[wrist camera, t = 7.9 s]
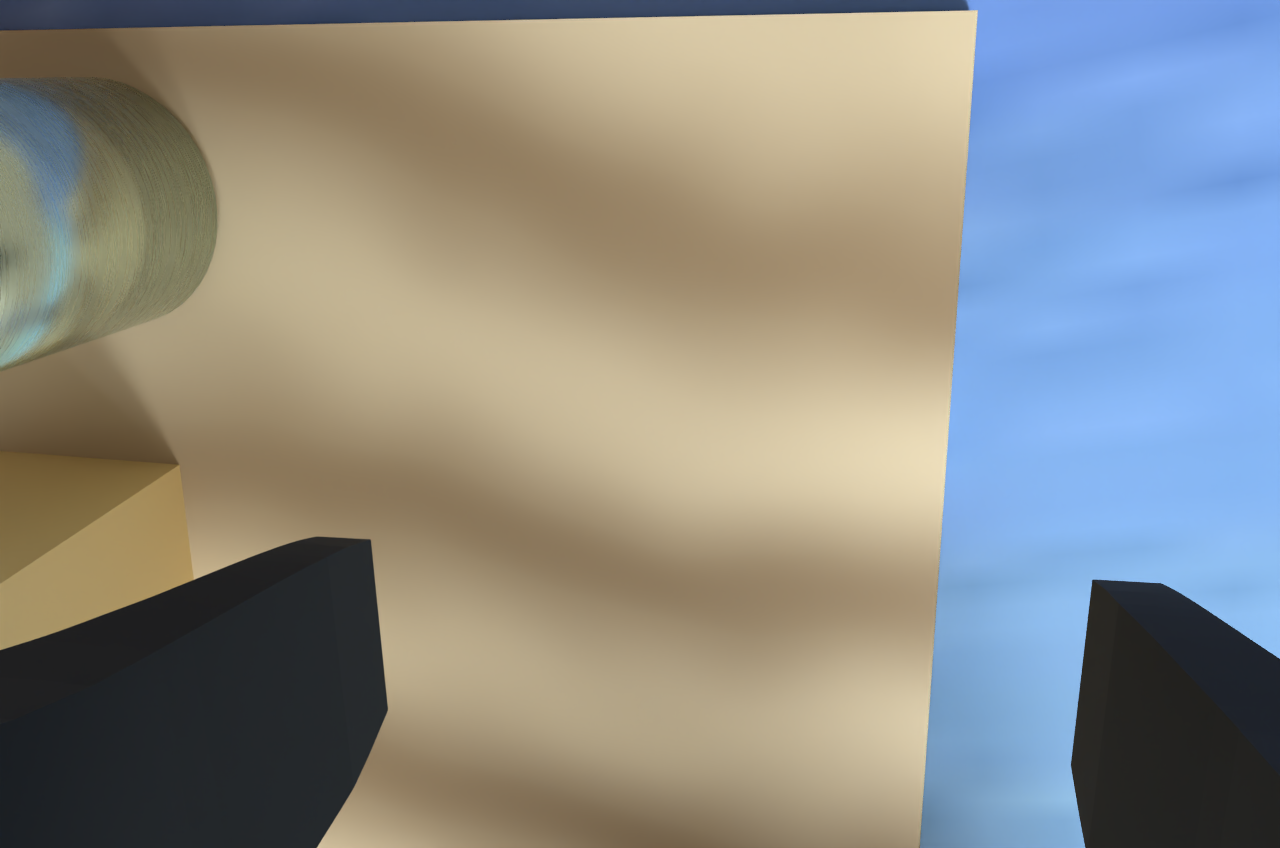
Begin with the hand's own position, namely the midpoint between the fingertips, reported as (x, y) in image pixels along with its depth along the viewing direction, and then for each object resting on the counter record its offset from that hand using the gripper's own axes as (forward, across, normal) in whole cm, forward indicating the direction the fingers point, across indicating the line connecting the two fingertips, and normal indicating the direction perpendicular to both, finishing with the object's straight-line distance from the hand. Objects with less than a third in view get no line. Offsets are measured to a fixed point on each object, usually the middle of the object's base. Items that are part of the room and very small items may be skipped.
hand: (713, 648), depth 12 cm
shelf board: (+10, +8, +3) cm, 13 cm away
